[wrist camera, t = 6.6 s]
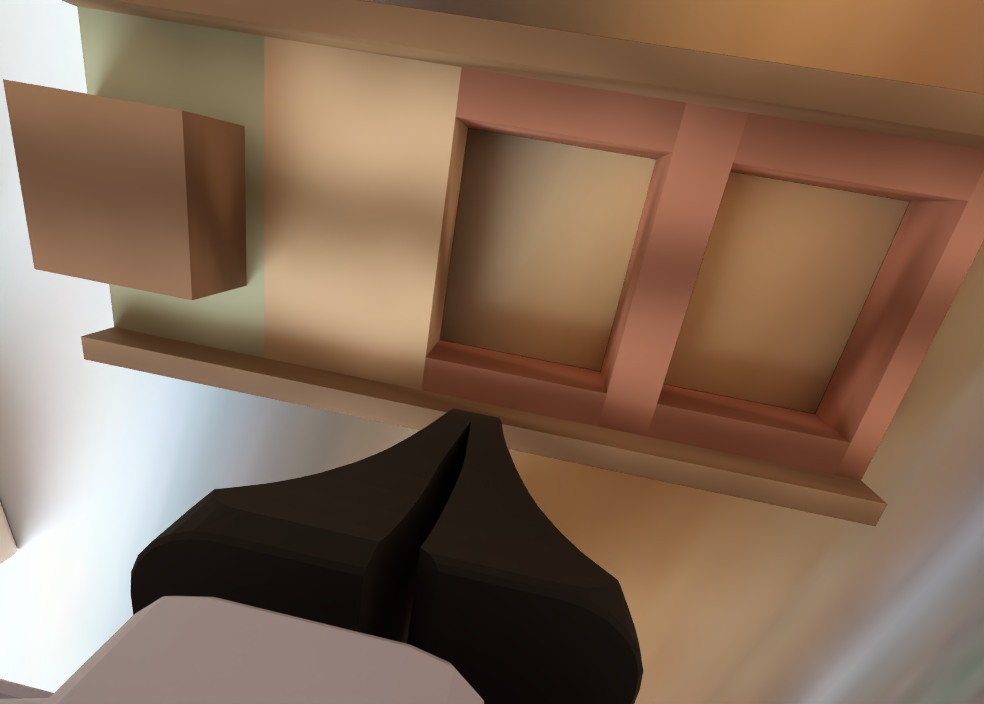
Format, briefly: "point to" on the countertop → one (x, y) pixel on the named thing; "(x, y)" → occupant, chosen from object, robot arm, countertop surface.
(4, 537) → the medicine bottle
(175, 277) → the walnut block
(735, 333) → the countertop surface
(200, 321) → the box
